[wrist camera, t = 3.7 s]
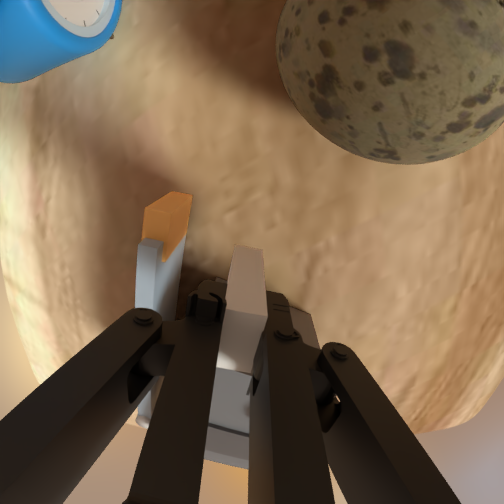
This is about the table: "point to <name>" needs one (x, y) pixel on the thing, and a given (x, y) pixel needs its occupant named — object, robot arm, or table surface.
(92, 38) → the alarm clock
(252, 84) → the table surface
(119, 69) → the table surface
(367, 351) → the table surface
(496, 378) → the table surface
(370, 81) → the decorative egg
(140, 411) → the side door
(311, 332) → the camera body
